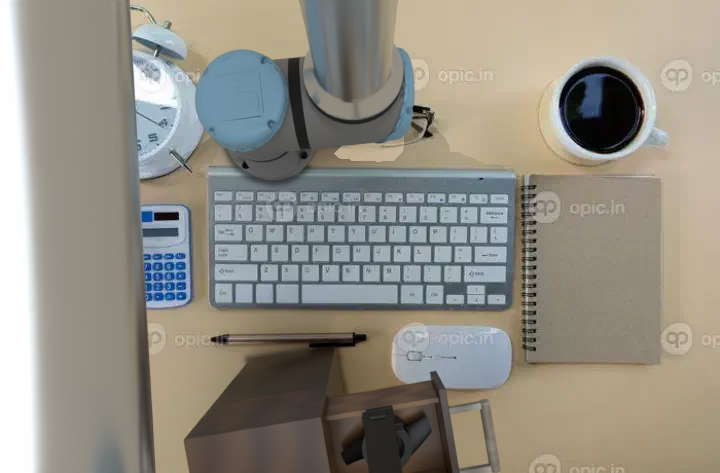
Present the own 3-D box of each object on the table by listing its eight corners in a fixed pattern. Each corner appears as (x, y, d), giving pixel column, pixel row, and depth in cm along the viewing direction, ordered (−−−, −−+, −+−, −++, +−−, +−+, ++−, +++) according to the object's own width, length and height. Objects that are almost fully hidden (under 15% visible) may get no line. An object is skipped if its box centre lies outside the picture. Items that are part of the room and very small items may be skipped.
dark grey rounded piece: (351, 397, 57) (351, 406, 54) (432, 414, 57) (436, 424, 54) (338, 459, 57) (337, 471, 54) (419, 475, 57) (422, 489, 54)
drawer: (474, 363, 57) (489, 381, 51) (492, 470, 58) (509, 501, 51) (319, 389, 57) (314, 410, 51) (338, 496, 58) (335, 531, 51)
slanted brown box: (335, 344, 79) (321, 416, 49) (348, 423, 79) (342, 541, 49) (249, 359, 79) (183, 439, 49) (263, 437, 79) (205, 564, 49)
